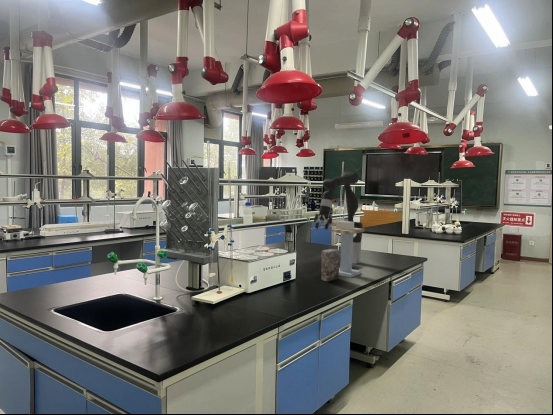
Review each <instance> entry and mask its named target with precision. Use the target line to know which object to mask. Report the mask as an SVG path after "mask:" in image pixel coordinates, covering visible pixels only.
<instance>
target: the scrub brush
mask: <svg viewBox="0 0 553 415" xmlns="http://www.w3.org/2000/svg"><path fill="white" fill-rule="evenodd" d="M321 222H322V223H321V224H322V226H325V224H326V222H325V221H321ZM354 222H355V221H354ZM354 222H349V221H348V220H337V221H335V222H334V221H332V223H331V224H329V226H331V227H335V228H336V229H345V230H351V229H354ZM329 226H328V227H329Z"/></svg>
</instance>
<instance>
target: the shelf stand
mask: <svg viewBox="0 0 553 415" xmlns="http://www.w3.org/2000/svg"><path fill="white" fill-rule="evenodd" d="M365 230H366V229H365V228H363V229H361V228H354V229H351V230H345V229H336V227H335V228H330V229H329V232H330V233H335V234H341V236H340V237H341V238H340V239H341V242H340V252H341V253H340V263H339V276H341V277H347V278H350V279H351V278H353V277H356V276H358V275H361V274H362V270H360V269H359V270H358V269H353V268H352V267H353V263H352V249H353V237H354V235H355V234H356V233H360V232H362V233H364V232H365Z"/></svg>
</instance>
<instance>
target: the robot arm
mask: <svg viewBox="0 0 553 415" xmlns="http://www.w3.org/2000/svg"><path fill="white" fill-rule="evenodd" d="M342 174H343V175H342V176H336V177H334V178H326V179H324V180H323V182H322V186H323V188H324V189H325V190H327V191H324V192H323V193H322V197H321V202H320V206H319V210H318V212H319V213H315V214H314V215H315V216H314V219H313V223H315V226H314V228H315V229H317V230H319V227H320V223H321V222H322V221H325V222H326V224H325V225H324V230H326V231H327V230H328V229H329V224H331V223H332V222H333V214H330V213H331V209H332V204H333V203H332V202H333V196H334V194H335V193H336V190H337V188H339V187H342V186H343V188H344V192H345V193H344V194H345V201H346V203H345V205H346V211H347V221H349V222H354V228H361V229H364V228H363V226H364V225H363V223H362V222H360V221H354V217H355V214H356V213H357V211H358V210H359V199H358V196H357V195H356V193H355V192H354V190H352V187H351V185H354V184H355V185H356V184H357V183H358V182H359V178H360V177H359V174H358V172H355V171H344V172H343V173H342ZM362 239H363V232H360V233H356V235H355V236H353V249H352V265H353V264H355V265H356V264H361V259H362V258H361V257H362V256H361V254H362Z"/></svg>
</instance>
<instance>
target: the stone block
mask: <svg viewBox="0 0 553 415" xmlns="http://www.w3.org/2000/svg"><path fill="white" fill-rule="evenodd" d="M320 254H321V255H320V260H321V261H320V262H321V269H320V271H321V272H320V273H321V280H322V281H324V282H331V281H335V280H338V279H339V276H340V275H339V268H340V260H341V249H340V250H339V249H336V248H329V249H323V250H322V251H321V252H320Z"/></svg>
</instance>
